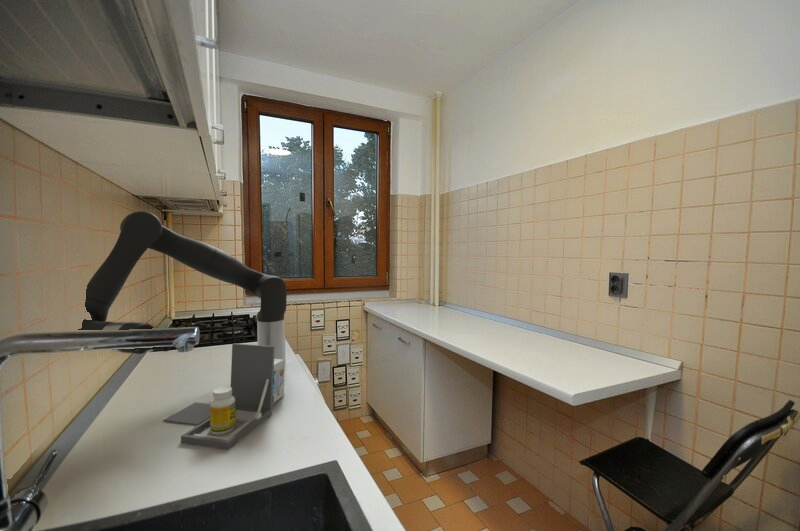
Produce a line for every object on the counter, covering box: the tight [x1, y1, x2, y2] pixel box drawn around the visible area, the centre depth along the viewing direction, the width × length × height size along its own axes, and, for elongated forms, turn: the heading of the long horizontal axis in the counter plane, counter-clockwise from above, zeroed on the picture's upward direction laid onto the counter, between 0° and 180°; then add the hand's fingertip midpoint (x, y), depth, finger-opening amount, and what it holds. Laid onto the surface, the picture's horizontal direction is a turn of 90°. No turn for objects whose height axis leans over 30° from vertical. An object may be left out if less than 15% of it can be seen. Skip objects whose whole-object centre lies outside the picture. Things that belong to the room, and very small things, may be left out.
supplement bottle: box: [209, 386, 237, 436], centre depth 81 cm, size 5×5×10 cm
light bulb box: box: [272, 359, 285, 405], centre depth 96 cm, size 11×7×11 cm, turn 169°
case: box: [180, 342, 275, 450], centre depth 83 cm, size 18×12×18 cm
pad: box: [163, 401, 210, 426], centre depth 89 cm, size 10×10×1 cm
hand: (184, 341), depth 83 cm, fingers open, 8 cm apart
